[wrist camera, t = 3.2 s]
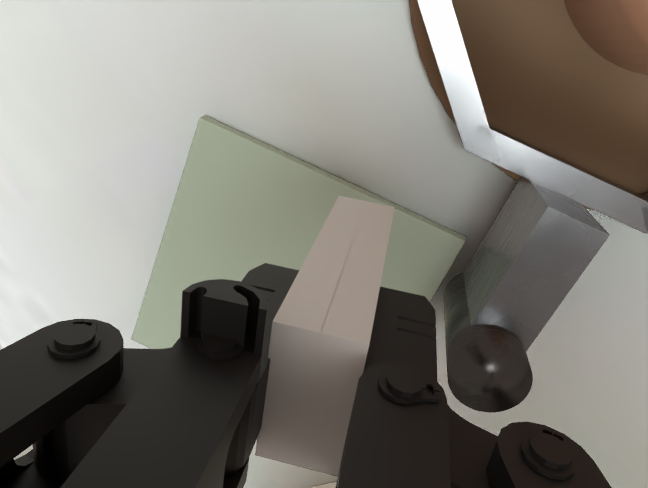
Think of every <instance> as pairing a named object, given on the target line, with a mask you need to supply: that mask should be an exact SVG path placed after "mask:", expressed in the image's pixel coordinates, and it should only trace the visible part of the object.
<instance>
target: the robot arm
mask: <svg viewBox="0 0 648 488" xmlns="http://www.w3.org/2000/svg"><path fill="white" fill-rule="evenodd" d="M394 208H395V207H393V206H388V205H383V204H378V203H373V202H368V201H363V200H358V199H353V198H348V197H344V196H339V197H338V199H337V200H336V202H335V204H334V206H333V208H332V210H331V212H330V214H329V216H328V218H327V219H326V221H325V223H324V225H323V227H322V229H321V231H320V233H319V235H318V236H317V238H316V240H315V242H314V244H313V246H312V248H311V250H310V252H309V254H308V255H307V257H306V259H305V261H304V263H303V265H302V267H301V269H300V270H295V269H291V268H286V267H282V266H277V265H273V264H268V263H264V264H262V265H260V266H258V267H256V268H254V269H252V270H250V271H248V273H247V274H246V276H245V277H244V278H243V280H242V281H241V282H240V281H234V280H226V279H215V280H205V281H202V282H198V283H195V284H192V285H190V286H189V287H187V288H186V289H185V290H183V291H182V310H181V332H180V338H179V339H178V340H177V341H176V343H175V344H174V345H173V347H171V348H165V349H127V348H123V338H122V336H121V333H120V331H119V330H118V329H116V328H115V327H113V326H112V325H111V324H109V323H105V322H102V321H98V320H93V319H73V320H67V321H61V322H57V323H55V324H52V325H49V326H47V327H44V328H42V329H40V330H38V331H36V332H34V333H32V334H30V335H28V336H26V337H25V338H23V339H21V340H19V341H17V342H15V343H13V344H11V345H9V346H7V347H5V348H4V349H2V350H0V488H243V487H244V484H245V482H246V477H247V470H248V462H249V456H250V454H251V451H252V449H253V446H254V444H255V442H256V439H257V445H256V453H255V455H257V456H261V457H265V458H269V459H273V460H276V461H280V462H284V463H288V464H292V465H296V466H299V467H303V468H307V469H311V470H315V471H319V472H322V473H326V474H330V475H334V476H338V479H337V483H336V488H611V486H610V485H609V483H608V482H607V480H606V479H605V477H604V476H603V474H602V473H601V471H600V470H599V468H598V467H597V465H596V464H595V462H594V461H593V459H592V458H591V457H590V456H589V455H588V454H587V453H586V452H585V450H584V449H583V448H582V447H581V446H580V445H578V444H577V443H576V442H574V441H573V440H571V439H570V438H569V437H567V436H566V435H565V434H563V433H560V432H558V431H556V430H554V429H552V428H549V427H547V426H545V425H540V424H535V423H531V422H518V423H511V424H509V425H508V426H506V427H504V428H502V429H501V431H500V434H499V436H496V435H494V434H492V433H490V432H488V431H486V430H483V429H481V428H479V427H477V426H475V425H473V424H472V423H470V422H468V421H466V420H465V419H463V418H462V417H460V416H459V415H458V414H456V413H455V412H454V411H453V410H452V409H451V408H450V407H449V406H448V405H447V399H446V396H445V393H444V390H443V388H442V387H441V386H440V385H439V383H438V382H437V355H436V327H435V325H436V317H435V309H434V308H433V307H432V305H431V304H430V302H429V301H428V300H427V298H426V297H425V296H421V295H417V294H412V293H408V292H403V291H399V290H394V289H390V288H385V287H380V284H381V279H382V273H383V268H384V262H385V257H386V252H387V246H388V241H389V235H390V230H391V225H392V219H393V214H394ZM257 437H258V438H257ZM32 444H33V449H32V450H31V451H30V452H28V453H27V454H26V455H24V456H22V457H20V458H18V459H16V460H14V459H13V458H14V457H16V456H17V455H19V454H20V453H21V452H22V451H24V450H25V449H27V448H28V447H29V446H31V445H32Z"/></svg>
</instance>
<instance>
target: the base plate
mask: <svg viewBox="0 0 648 488" xmlns="http://www.w3.org/2000/svg"><path fill="white" fill-rule="evenodd" d="M451 1H452V5H453V8H454V11H455V15H456V18H457V21H458V25H459V28H460V31H461V35H462V38H463V41H464V45H465V48H466V51H467V55H468V58H469V61H470V65H471V68H472V71H473V75H474V78H475V81H476V85H477V88H478V91H479V95H480V98H481V102H482V105H483V108H484V112H485V115H486V118H487V122H488V125H490V126H492V127H494V128H497V129H499V130H501V131H503V132H505V133H507V134H510V135H512V136H514V137H516V138H518V139H520V140H523V141H525V142H527V143H529V144H531V145H533V146H536V147H538V148H540V149H542V150H544V151H546V152H549V153H551V154H553V155H555V156H557V157H559V158H562V159H564V160H566V161H568V162H570V163H572V164H575V165H577V166H579V167H581V168H583V169H585V170H588V171H590V172H592V173H594V174H596V175H598V176H601V177H603V178H605V179H607V180H609V181H611V182H614V183H616V184H618V185H620V186H622V187H624V188H627V189H629V190H631V191H633V192H635V193H637V194H640V195H643V194H646V193H648V75H644V74H639V73H635V72H631V71H629V70H626V69H623V68H621V67H618V66H616V65H615V64H613V63H611V62H609V61H607V60H605V59H604V58H603V57H602V56H600V55H599V54H598V53H596V52H595V51H594V50H593V49H592V48H591V47H590V46H589V45H588V44H587V43H586V42H585V41H584V40H583V38H582V37H581V35H580V34H579V33H578V31H577V30H576V28H575V27H574V25H573V23H572V21H571V18H570V16H569V14H568V12H567V9H566V6H565V2H564V0H451ZM409 5H410V13H411V21H412V26H413V30H414V34H415V38H416V42H417V46H418V50H419V54H420V57H421V60H422V62H423V65H424V67H425V70H426V72H427V75H428V77H429V80H430V82H431V85H432V87H433V89H434V91H435V92H436V94H437V96H438V98H439V99H440V101H441V103H442V105H443V107H444V108H445V110H446V112H447V114H448V115H449V116H450V118H451V119H452V120H453V122H454V123H455V124H456V121H455V118H454V115H453V111H452V108H451V105H450V102H449V99H448V96H447V92H446V89H445V86H444V83H443V80H442V77H441V74H440V70H439V67H438V64H437V61H436V58H435V55H434V51H433V48H432V45H431V42H430V39H429V36H428V32H427V29H426V26H425V23H424V20H423V17H422V14H421V10H420V7H419V4H418V1H417V0H409ZM456 125H457V124H456ZM493 164H494V163H493ZM494 165H496V164H494ZM496 166H497V167H498V168H500V169H501V170H502V171H504V172H505V173H507V174H508V175H509V176H511V177H512V178H514V179H515V180H517V181H519V179H520V178H521V176H520V175H518V174H516V173H514V172H511V171H509V170H507V169H505V168H503V167H501V166H498V165H496ZM582 205H583V204H582ZM583 206H584V207H585V208H587V209H591V208H589V207H587V206H585V205H583ZM592 210H594V209H592Z"/></svg>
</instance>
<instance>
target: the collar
mask: <svg viewBox="0 0 648 488" xmlns="http://www.w3.org/2000/svg"><path fill="white" fill-rule="evenodd" d="M417 1H418V4H419V7H420V10H421V14H422V17H423V20H424V23H425V26H426V29H427V32H428V36H429V39H430V42H431V45H432V48H433V51H434V55H435V58H436V61H437V64H438V67H439V70H440V74H441V77H442V80H443V83H444V86H445V89H446V92H447V96H448V99H449V102H450V105H451V108H452V111H453V115H454V118H455V121H456V124H457V127H458V130H459V133H460V137H461V140H462V143H463V146H464V149H465V150H466V151H468V152H470V153H472V154H475V155H477V156H479V157H481V158H483V159H485V160H488V161H490V162H492V163H494V164H496V165H498V166H501V167H503V168H505V169H507V170H509V171H511V172H514V173H516V174H518V175H520V176H521V178H520V179H519V181H518V183H517V184H516V186H515V188H514V189H513V191H512V193H511V194H510V196H509V198H508V199H507V201H506V203H505V204H504V206H503V208H502V209H501V211H500V213H499V214H498V216H497V217H496V219H495V221H494V222H493V224H492V226H491V227H490V229H489V231H488V232H487V234H486V236H485V237H484V239H483V241H482V242H481V244H480V246H479V247H478V249H477V251H476V252H475V254H474V256H473V257H472V259H471V261H470V262H469V264H468V266H467V267H466V269H465V270H464V272H463V273H461V274H459V275H457V276H456V277H454V278H453V279H452V280H451V281H450V282H449V283H448V285H447V287H446V289H445V291H444V296H443V303H444V321H445V339H446V357H447V375H448V384H449V387H450V389H451V391H452V393H453V395H454V396H455V397H456V398H457V399H458V400H459V401H460V402H461V403H463V404H464V405H466V406H468V407H469V408H472V409H474V410H478V411H483V412H499V411H504V410H507V409H510V408H512V407H514V406H516V405H517V404H519V403H520V402H521V401H523V400H524V398H525V397H526V396H527V395H528V393H529V391H530V389H531V386H532V380H533V378H532V371H531V368H530V364H529V361H528V358H527V355H526V351H527V349H528V348H529V347H530V345H531V344H532V342H533V341H534V340H535V338H536V337H537V335H538V334H539V333H540V331H541V330H542V328H543V327H544V326H545V324H546V323H547V321H548V320H549V319H550V317H551V316H552V315H553V313H554V312H555V310H556V309H557V308H558V306H559V305H560V303H561V302H562V301H563V299H564V298H565V296H566V295H567V294H568V292H569V291H570V289H571V288H572V287H573V285H574V284H575V282H576V281H577V280H578V278H579V277H580V275H581V274H582V273H583V271H584V270H585V268H586V267H587V266H588V264H589V263H590V261H591V260H592V259H593V257H594V256H595V255H596V253H597V252H598V250H599V249H600V248H601V246H602V245H603V243H604V242H605V241H606V239H607V238H608V236H609V234H608V232H607V231H606V230H605V229H604V228H603V227H602V226H601V225H600V224H599V223H598V222H597V221H596V219H595V218H594V217H593V216H592V215H591V214H590V213H589V212H588V211H587V210H586V209H585V207H584V206H583V205H585V206H587V207H589V208H591V209H594V210H596V211H598V212H600V213H602V214H604V215H607V216H609V217H611V218H613V219H615V220H617V221H620V222H622V223H624V224H626V225H628V226H630V227H632V228H635V229H637V230H639V231H641V232H643V233H645V234H646V233H647V234H648V193H646V194H643V195H640V194H637V193H635V192H633V191H631V190H629V189H627V188H624V187H622V186H620V185H618V184H616V183H614V182H611V181H609V180H607V179H605V178H603V177H601V176H598V175H596V174H594V173H592V172H590V171H588V170H585V169H583V168H581V167H579V166H577V165H575V164H572V163H570V162H568V161H566V160H564V159H562V158H559V157H557V156H555V155H553V154H551V153H549V152H546V151H544V150H542V149H540V148H538V147H536V146H533V145H531V144H529V143H527V142H525V141H523V140H520V139H518V138H516V137H514V136H512V135H510V134H507V133H505V132H503V131H501V130H499V129H497V128H494V127H492V126H490V125H488V122H487V118H486V115H485V112H484V108H483V105H482V102H481V98H480V95H479V91H478V88H477V85H476V81H475V78H474V75H473V71H472V68H471V65H470V61H469V58H468V55H467V51H466V48H465V45H464V41H463V38H462V35H461V31H460V28H459V25H458V21H457V18H456V15H455V11H454V8H453V5H452V1H451V0H417ZM582 204H583V205H582Z"/></svg>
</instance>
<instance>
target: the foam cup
mask: <svg viewBox="0 0 648 488" xmlns="http://www.w3.org/2000/svg"><path fill="white" fill-rule="evenodd" d="M336 483H337V482H333V483H328V484H324V485H319V486H315V487H311V488H336Z"/></svg>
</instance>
